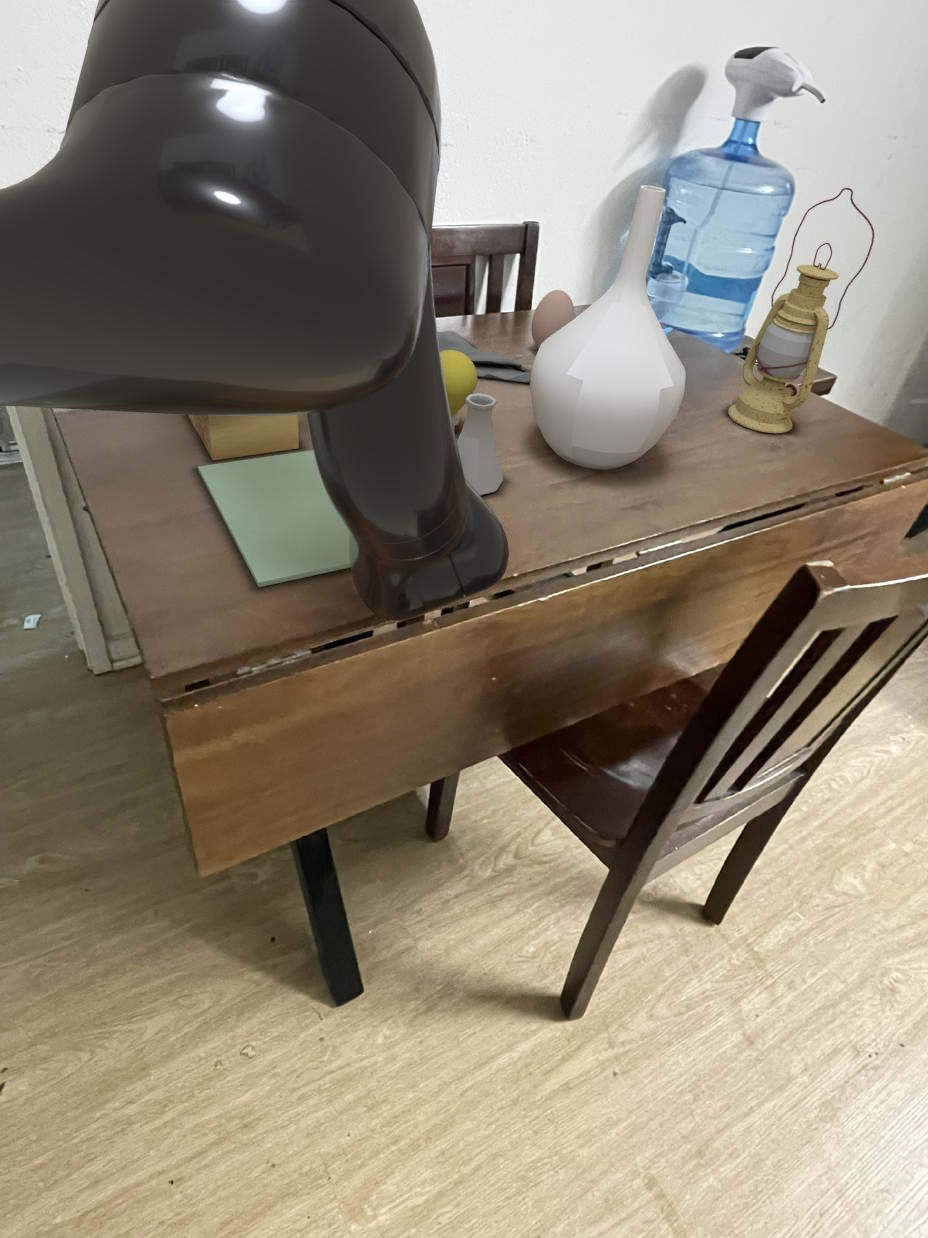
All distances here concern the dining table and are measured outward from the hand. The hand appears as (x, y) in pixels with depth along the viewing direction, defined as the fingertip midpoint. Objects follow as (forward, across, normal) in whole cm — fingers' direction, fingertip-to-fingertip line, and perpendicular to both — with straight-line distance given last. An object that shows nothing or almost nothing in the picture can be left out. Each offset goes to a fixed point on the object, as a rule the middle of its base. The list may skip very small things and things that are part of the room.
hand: (283, 181), depth 58 cm
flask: (-15, -21, +27) cm, 37 cm away
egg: (+13, -53, +43) cm, 69 cm away
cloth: (+14, -37, +43) cm, 58 cm away
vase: (-13, -40, +28) cm, 50 cm away
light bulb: (-4, -24, +33) cm, 41 cm away
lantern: (-13, -71, +28) cm, 78 cm away
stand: (+9, 0, +40) cm, 41 cm away
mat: (-14, 0, +27) cm, 30 cm away
